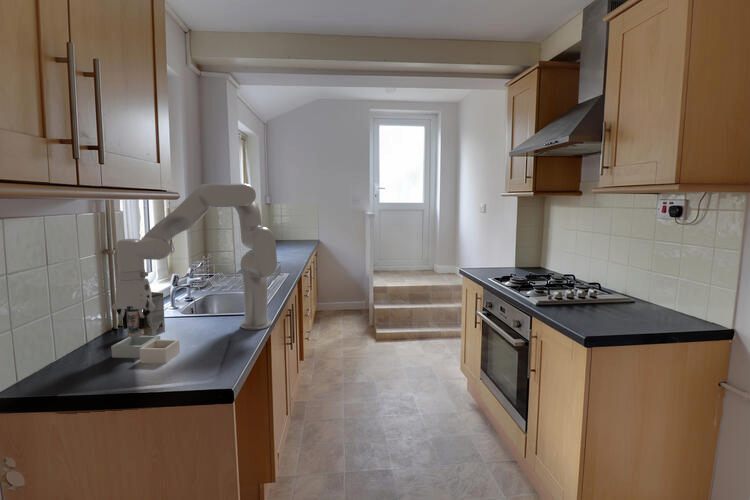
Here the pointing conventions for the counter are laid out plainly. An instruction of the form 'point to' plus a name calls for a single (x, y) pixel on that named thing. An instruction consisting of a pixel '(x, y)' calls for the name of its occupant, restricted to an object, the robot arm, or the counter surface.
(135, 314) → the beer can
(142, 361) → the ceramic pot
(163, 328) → the coffee box
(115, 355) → the grey tub
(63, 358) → the counter surface
